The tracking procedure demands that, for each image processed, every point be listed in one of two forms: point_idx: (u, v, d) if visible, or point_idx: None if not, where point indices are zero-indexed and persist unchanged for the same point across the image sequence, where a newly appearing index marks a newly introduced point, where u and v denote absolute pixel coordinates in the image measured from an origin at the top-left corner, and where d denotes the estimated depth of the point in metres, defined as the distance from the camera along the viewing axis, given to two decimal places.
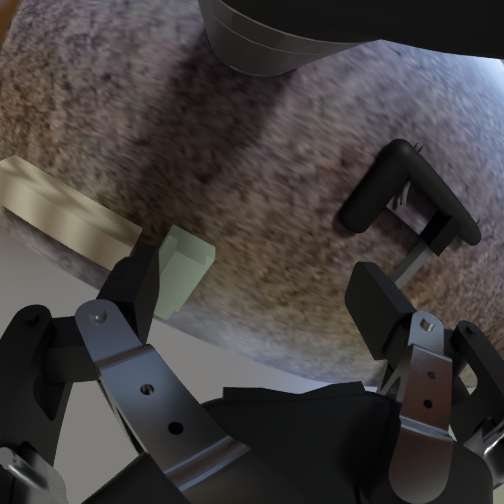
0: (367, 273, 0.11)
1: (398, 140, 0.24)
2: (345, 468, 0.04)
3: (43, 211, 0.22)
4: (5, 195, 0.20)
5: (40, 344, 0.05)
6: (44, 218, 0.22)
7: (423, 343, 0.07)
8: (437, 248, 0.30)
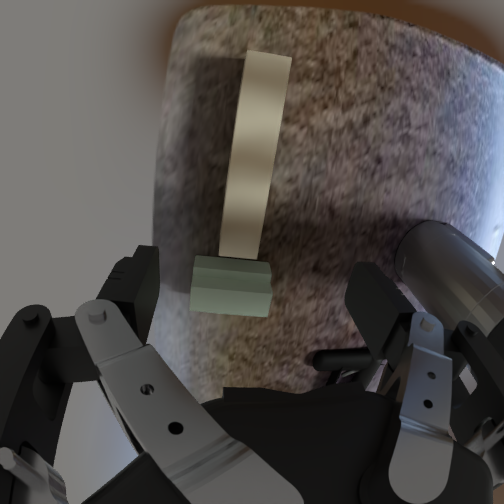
0: (367, 273, 0.11)
1: None
2: (345, 468, 0.04)
3: (258, 150, 0.22)
4: (258, 85, 0.20)
5: (40, 344, 0.05)
6: (250, 153, 0.23)
7: (423, 343, 0.07)
8: None
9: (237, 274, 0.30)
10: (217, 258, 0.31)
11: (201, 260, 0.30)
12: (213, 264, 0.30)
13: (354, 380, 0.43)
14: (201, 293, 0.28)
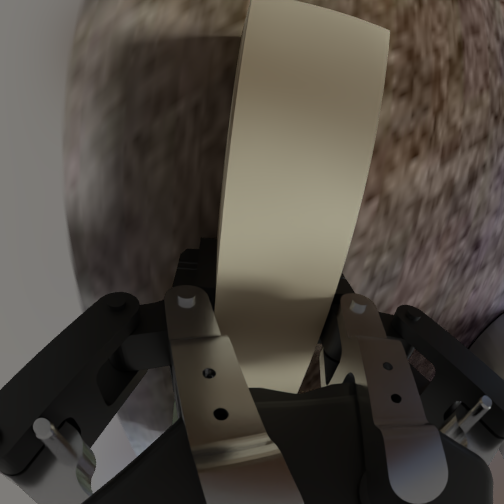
0: None
1: None
2: (345, 468, 0.04)
3: (288, 306, 0.09)
4: (291, 110, 0.06)
5: (119, 333, 0.06)
6: (264, 313, 0.09)
7: (345, 323, 0.07)
8: None
9: None
10: None
11: None
12: None
13: None
14: None
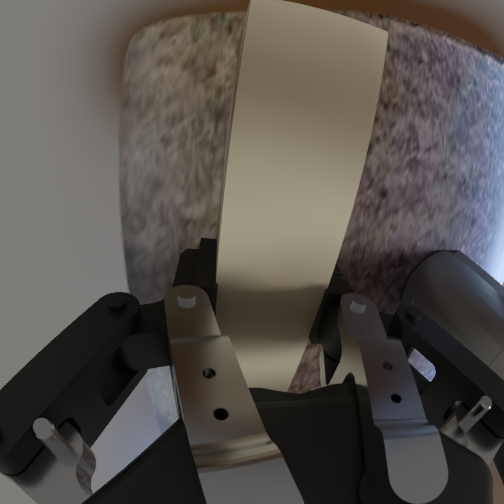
0: None
1: None
2: (345, 468, 0.04)
3: (284, 295, 0.09)
4: (288, 111, 0.06)
5: (119, 333, 0.06)
6: (262, 302, 0.09)
7: (345, 323, 0.07)
8: None
9: None
10: None
11: None
12: None
13: None
14: None
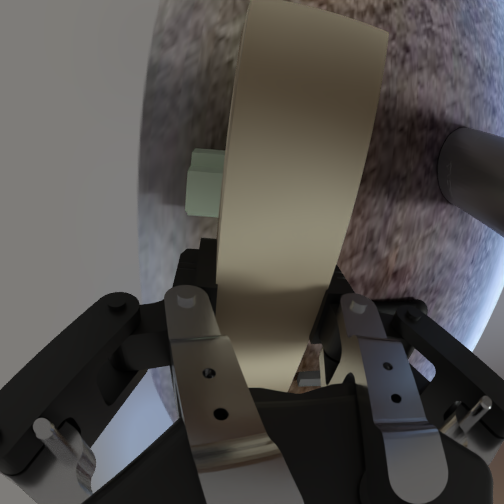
0: None
1: (425, 304, 0.31)
2: (345, 468, 0.04)
3: (284, 296, 0.09)
4: (288, 111, 0.06)
5: (119, 333, 0.06)
6: (262, 303, 0.09)
7: (345, 323, 0.07)
8: None
9: None
10: (224, 150, 0.23)
11: (203, 150, 0.22)
12: (219, 152, 0.21)
13: None
14: (201, 182, 0.20)
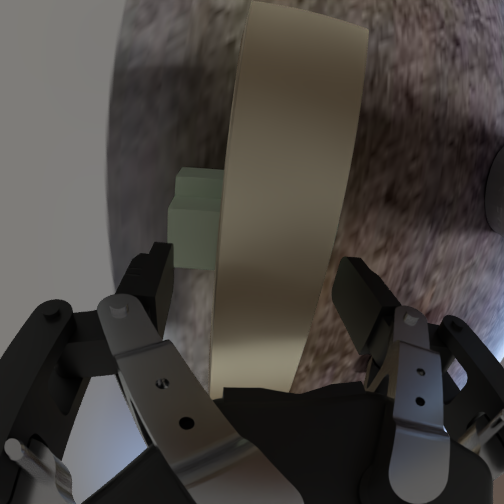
0: (352, 268, 0.11)
1: None
2: (345, 468, 0.04)
3: (285, 275, 0.09)
4: (284, 96, 0.07)
5: (59, 339, 0.05)
6: (263, 282, 0.09)
7: (404, 336, 0.07)
8: None
9: None
10: (222, 170, 0.16)
11: (192, 171, 0.15)
12: (216, 175, 0.15)
13: None
14: (190, 224, 0.13)
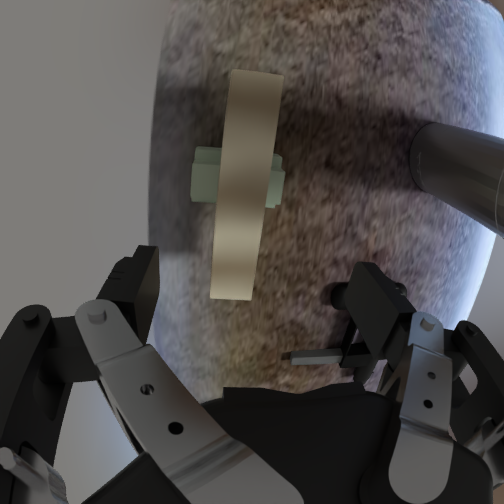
0: (367, 273, 0.11)
1: (404, 286, 0.36)
2: (345, 468, 0.04)
3: (249, 186, 0.20)
4: (245, 110, 0.18)
5: (40, 344, 0.05)
6: (239, 189, 0.20)
7: (423, 343, 0.07)
8: (346, 362, 0.41)
9: None
10: (221, 148, 0.27)
11: (204, 147, 0.26)
12: (217, 149, 0.26)
13: None
14: (204, 172, 0.24)
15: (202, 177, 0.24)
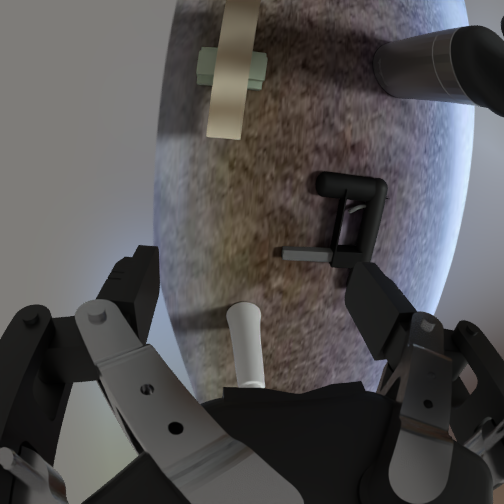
0: (367, 273, 0.11)
1: (384, 181, 0.40)
2: (345, 468, 0.04)
3: (239, 49, 0.24)
4: (237, 6, 0.22)
5: (40, 344, 0.05)
6: (232, 51, 0.24)
7: (423, 343, 0.07)
8: (337, 260, 0.44)
9: None
10: None
11: None
12: None
13: (363, 220, 0.43)
14: (207, 56, 0.28)
15: (206, 59, 0.28)
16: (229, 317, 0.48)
